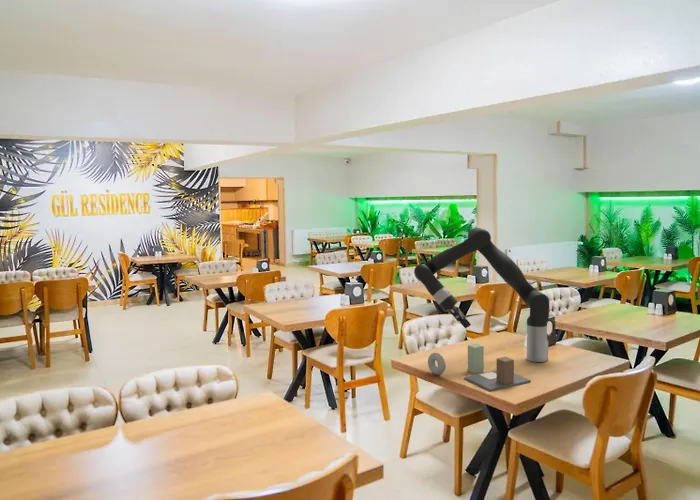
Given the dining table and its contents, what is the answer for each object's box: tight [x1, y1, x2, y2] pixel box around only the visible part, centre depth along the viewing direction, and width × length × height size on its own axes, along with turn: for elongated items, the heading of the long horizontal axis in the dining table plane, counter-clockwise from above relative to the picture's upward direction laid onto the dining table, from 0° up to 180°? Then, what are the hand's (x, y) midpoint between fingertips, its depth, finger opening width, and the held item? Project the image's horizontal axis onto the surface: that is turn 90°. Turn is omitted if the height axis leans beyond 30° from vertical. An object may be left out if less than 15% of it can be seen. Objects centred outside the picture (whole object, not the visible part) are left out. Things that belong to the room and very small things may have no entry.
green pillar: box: [467, 343, 485, 375], centre depth 244 cm, size 5×5×12 cm
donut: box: [427, 352, 446, 376], centre depth 241 cm, size 10×4×10 cm, turn 34°
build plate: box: [463, 356, 532, 392], centre depth 231 cm, size 22×17×11 cm
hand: (468, 326), depth 243 cm, fingers open, 8 cm apart
